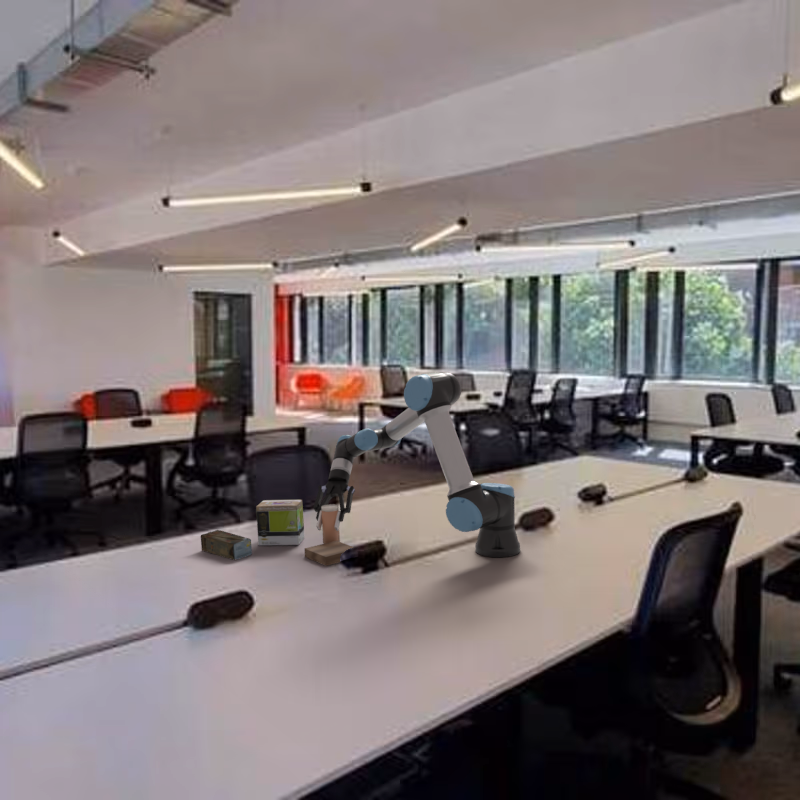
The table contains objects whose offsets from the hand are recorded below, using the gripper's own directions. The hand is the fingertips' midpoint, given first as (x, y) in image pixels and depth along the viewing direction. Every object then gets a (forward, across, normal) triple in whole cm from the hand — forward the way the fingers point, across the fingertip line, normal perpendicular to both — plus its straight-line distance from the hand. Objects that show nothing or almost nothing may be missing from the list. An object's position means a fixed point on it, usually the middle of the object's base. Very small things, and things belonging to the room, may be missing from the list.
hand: (327, 528), depth 273 cm
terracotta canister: (+2, 0, -7) cm, 7 cm away
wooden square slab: (+12, -5, +2) cm, 13 cm away
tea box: (+2, +20, -8) cm, 21 cm away
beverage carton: (+13, +34, +3) cm, 36 cm away
